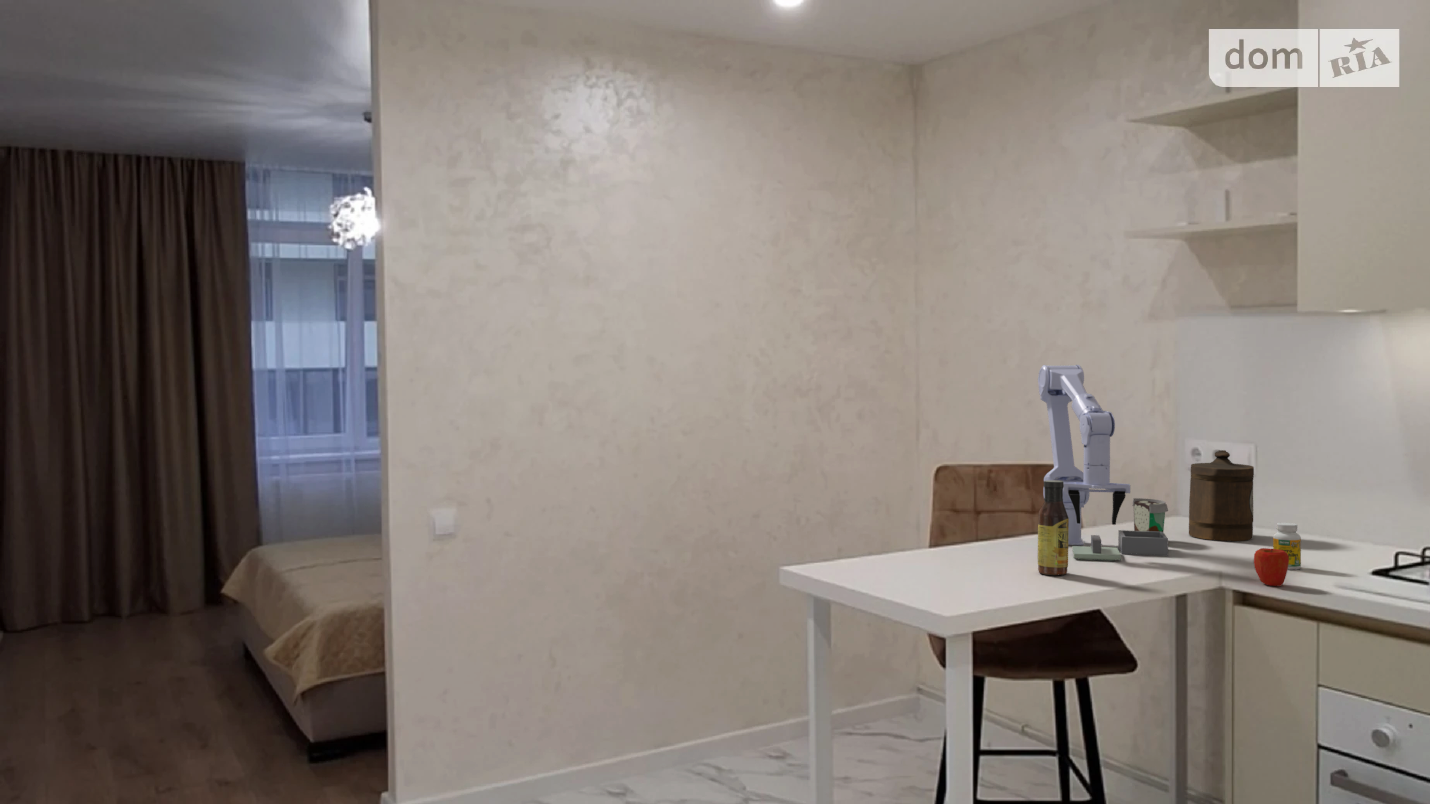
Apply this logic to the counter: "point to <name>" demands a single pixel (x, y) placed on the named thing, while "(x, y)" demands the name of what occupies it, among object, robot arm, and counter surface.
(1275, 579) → the apple
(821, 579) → the counter surface
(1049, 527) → the sauce bottle
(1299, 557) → the supplement bottle
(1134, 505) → the food container
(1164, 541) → the tub
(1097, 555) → the lid
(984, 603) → the counter surface
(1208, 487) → the wooden container
